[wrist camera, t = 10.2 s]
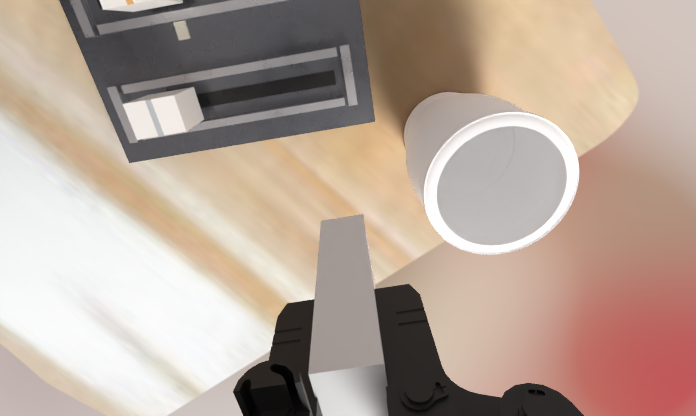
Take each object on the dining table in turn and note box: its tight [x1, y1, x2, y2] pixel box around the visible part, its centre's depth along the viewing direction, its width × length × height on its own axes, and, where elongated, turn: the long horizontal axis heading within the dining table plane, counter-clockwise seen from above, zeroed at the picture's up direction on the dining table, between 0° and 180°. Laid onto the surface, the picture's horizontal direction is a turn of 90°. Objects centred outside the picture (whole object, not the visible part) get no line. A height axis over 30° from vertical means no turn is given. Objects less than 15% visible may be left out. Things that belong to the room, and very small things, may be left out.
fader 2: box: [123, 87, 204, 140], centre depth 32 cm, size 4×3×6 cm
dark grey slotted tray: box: [60, 0, 375, 163], centre depth 33 cm, size 24×18×4 cm
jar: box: [404, 92, 579, 255], centre depth 32 cm, size 11×10×15 cm
